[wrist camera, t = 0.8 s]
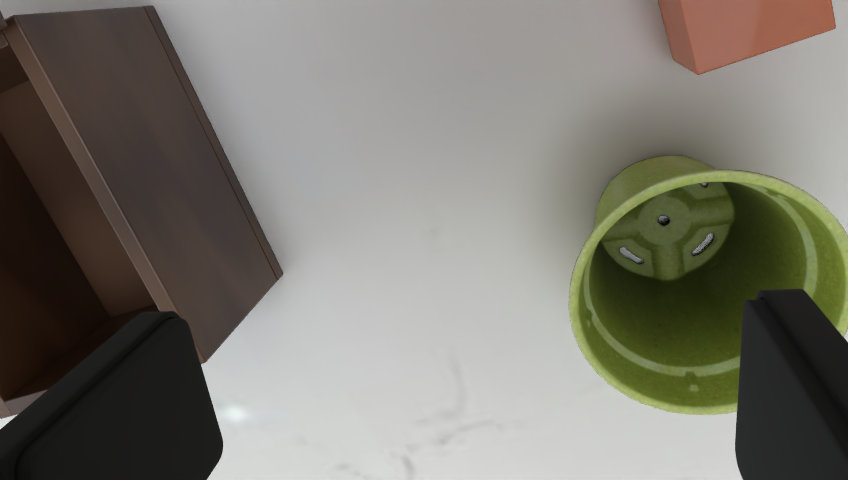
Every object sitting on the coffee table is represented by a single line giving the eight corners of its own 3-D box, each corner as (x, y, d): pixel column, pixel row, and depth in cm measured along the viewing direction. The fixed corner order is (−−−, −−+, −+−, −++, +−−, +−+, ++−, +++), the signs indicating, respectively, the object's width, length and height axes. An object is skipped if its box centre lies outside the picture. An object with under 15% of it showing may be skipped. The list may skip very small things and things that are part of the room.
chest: (283, 274, 35) (206, 363, 27) (115, 325, 38) (0, 419, 30) (153, 5, 30) (13, 14, 22) (-25, 89, 34) (-203, 124, 26)
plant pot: (820, 186, 28) (929, 266, 20) (684, 339, 32) (730, 457, 24) (640, 77, 28) (680, 116, 20) (523, 246, 32) (518, 334, 24)
